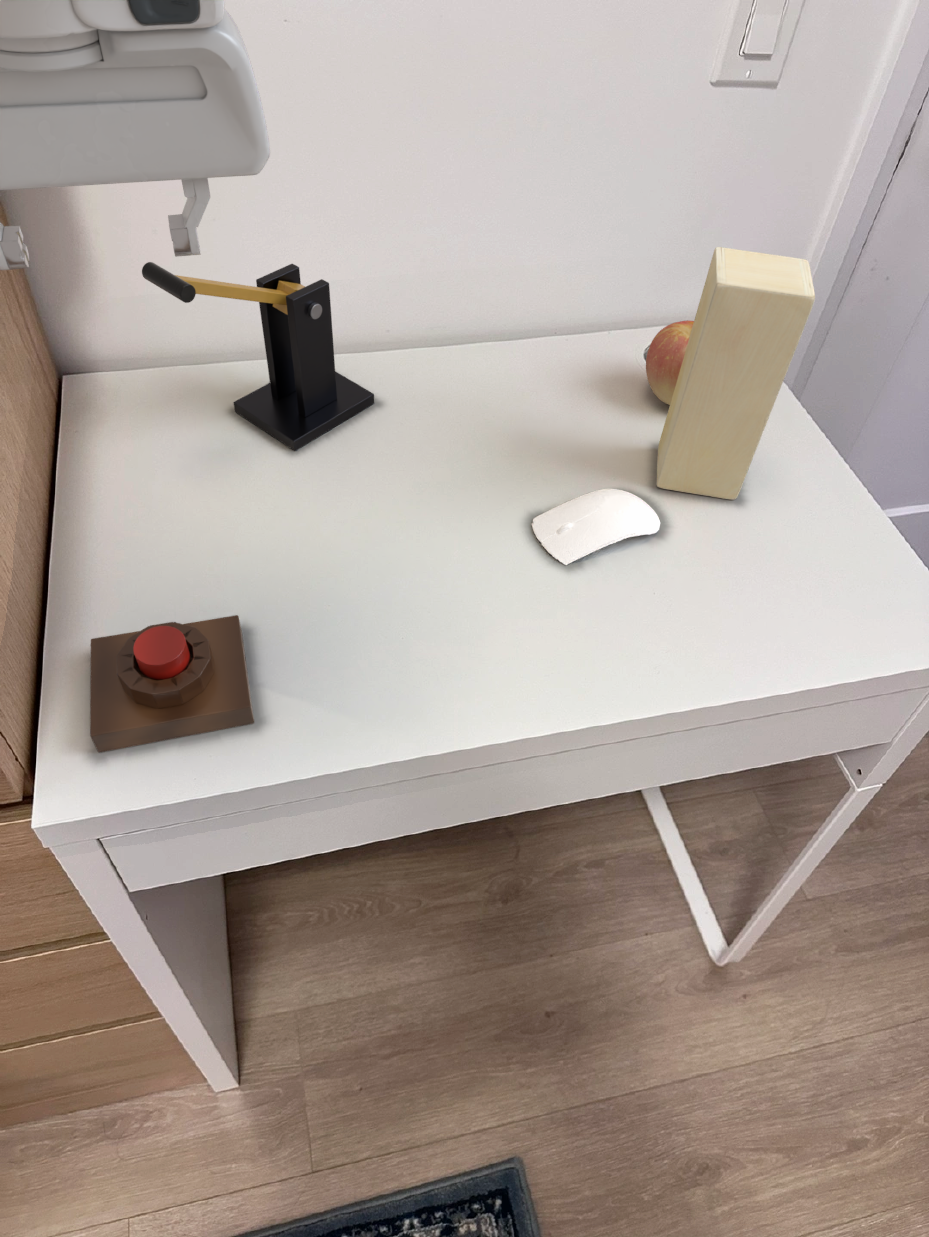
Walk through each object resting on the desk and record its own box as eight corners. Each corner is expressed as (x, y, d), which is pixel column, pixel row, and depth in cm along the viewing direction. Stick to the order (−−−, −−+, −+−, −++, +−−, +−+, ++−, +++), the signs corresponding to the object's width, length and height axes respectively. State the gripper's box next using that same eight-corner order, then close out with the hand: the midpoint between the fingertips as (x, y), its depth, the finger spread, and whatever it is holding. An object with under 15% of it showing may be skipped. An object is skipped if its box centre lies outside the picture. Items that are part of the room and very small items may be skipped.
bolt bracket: (294, 451, 85) (279, 323, 75) (234, 412, 89) (212, 284, 78) (374, 403, 91) (370, 278, 80) (315, 368, 94) (304, 244, 84)
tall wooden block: (736, 454, 88) (809, 254, 73) (738, 501, 84) (817, 298, 68) (657, 442, 89) (712, 241, 73) (655, 488, 84) (713, 284, 68)
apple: (630, 408, 93) (646, 341, 87) (649, 365, 98) (665, 299, 92) (711, 429, 91) (733, 362, 85) (725, 384, 96) (747, 318, 90)
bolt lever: (177, 308, 68) (183, 277, 67) (139, 284, 70) (144, 254, 69) (320, 323, 81) (327, 298, 80) (284, 303, 83) (290, 278, 82)
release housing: (98, 753, 62) (82, 721, 59) (98, 656, 68) (83, 623, 65) (254, 723, 64) (247, 692, 61) (242, 632, 70) (234, 599, 67)
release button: (139, 683, 62) (133, 668, 61) (137, 645, 64) (132, 630, 63) (191, 674, 63) (187, 659, 61) (188, 637, 65) (183, 621, 64)
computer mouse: (523, 520, 80) (526, 501, 79) (632, 488, 84) (637, 469, 82) (559, 569, 76) (563, 550, 75) (672, 533, 80) (678, 514, 79)
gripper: (-253, -10, 36) (-103, 303, 46) (255, -18, 40) (286, 270, 50) (-219, -51, 40) (-88, 246, 50) (240, -54, 44) (272, 220, 54)
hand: (103, 258), depth 50 cm, fingers open, 8 cm apart
